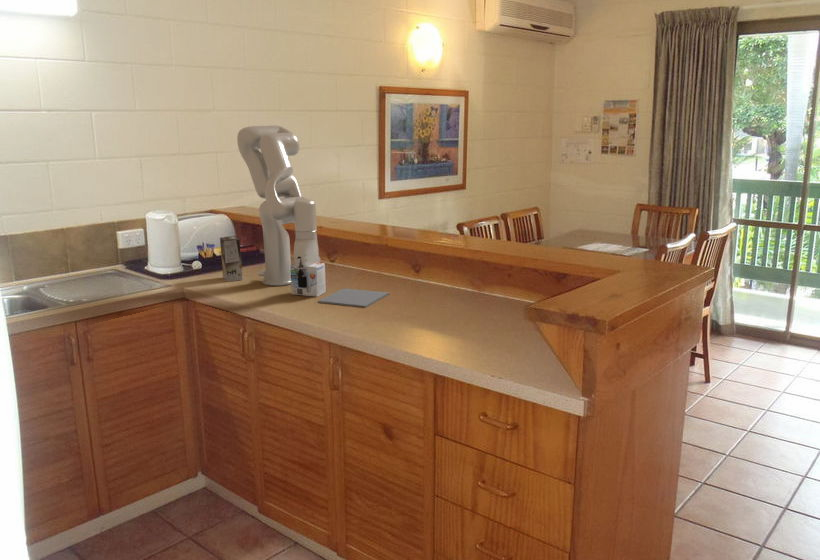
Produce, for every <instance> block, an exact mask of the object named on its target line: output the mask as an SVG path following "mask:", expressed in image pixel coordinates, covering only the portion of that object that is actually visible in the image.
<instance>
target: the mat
mask: <svg viewBox="0 0 820 560" xmlns="http://www.w3.org/2000/svg"><path fill="white" fill-rule="evenodd" d="M387 296H389V292H387V291H386V292H385V291H377V290H374V291H373V290H365V289H364V290H363V289H362V290H361V289H354V288H353V289H352V288H341V289H339V290H338V291H336V292H334V293H331V294H328V295H327V296H326V297H322V298H321V299H318V300H317V302H318V303H320V304H321V303H322V304H328V305H330V304H331V305H339V306H346V307H347V306H348V307H356V308H365V309H366V308H367V307H369V306H371V305H373V304H375V303H376V302H378V301H379V300H381V299H383V298H384V297H387Z"/></svg>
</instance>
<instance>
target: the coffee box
mask: <svg viewBox="0 0 820 560" xmlns="http://www.w3.org/2000/svg"><path fill="white" fill-rule="evenodd" d="M219 244H220V255H221V265H222V277H223V279H224V280H225V281H226V282H234V281H242V280H243V279H244V277H243V268H242V267H243V266H242V252H241V240H240V238H238V237H237V236H236V235H233V236H232V235H231V236H223V237H219Z"/></svg>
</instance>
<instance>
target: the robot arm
mask: <svg viewBox="0 0 820 560" xmlns="http://www.w3.org/2000/svg"><path fill="white" fill-rule="evenodd" d="M236 140H237V141H236V142H237V147H238V151H239V154H240V156H241V158H242V159H243V161H244V163H245V164H246V166H247V168H248V171H249V174H250V177H251V180H252V184H253V185H254V190H255V191H256V192H255V193H256V194H257V196H258V197H259V198H261V199H265V200H264V201H263V202H262V203H260V205H259V207H258V214H259V218H260V222H261V227H262V234H263V235H262V236H263V246H264V247H263V248H264V249H263V250H264V260H265V261H264V263H265V269H260V270H259V272H258V276H260V277H263V278H262V284H263V285H265V286H271V287H273V286H274V287H276V286H279V287H280V286H287V285H291V270H290V265H292V262H291V261H292V260H291V243H290V235H289V232H288V231H287V230H286V228H285V226H283V225H287V224H292V223H294V237H295V240H294V245H293V264H294V270H295V272H296V274H297V276H298V287H302V288H306V287H307V279H306V276H305V274H306V269H307V268H308V266H310V265H313V264H315V263H321V257H320V253H319V252H320V251H319V243H318V233H317V232H318V229H317V228H318V227H317V204H316V202H315V201H314V200H313V199H310V198H309V199H308V198H307V197H305V196H303V195H302V192H301V189H300V187H299V183H298V180H297V179H296V177H295V176H294V175H293V172H294V169H293V165H292V162H291V161H290V157H291V156H292V157H293V156H296V155H298V153H299V151H300V142H299V138H298V137H297V136H296V134H294V132H292V131H290V130H288V129H287V128H285V127H283V126H280V125H250V126H245V127H243V128H241V129H240V130H239V131H238V133H237V137H236ZM300 266H303V267H300ZM301 270H303V272H302V271H301Z"/></svg>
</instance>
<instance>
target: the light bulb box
mask: <svg viewBox="0 0 820 560" xmlns="http://www.w3.org/2000/svg"><path fill="white" fill-rule="evenodd" d="M300 267H303V266H300ZM290 270H291V284H290V285H291V289H290V290H291V295H299V296H306V297H319V296H322V295H323V294H325V293H326V292H327V290H326V288H327V287H326V265H325V263H324V262H320V263H315V264H313V265H310V266H308V268H307V269H306V274H305V276H306V279H307V287H306V288H302V287H298V276H297V274H296V272H295V270H294V263H291V265H290ZM301 271H302V272H303V270H301Z"/></svg>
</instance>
